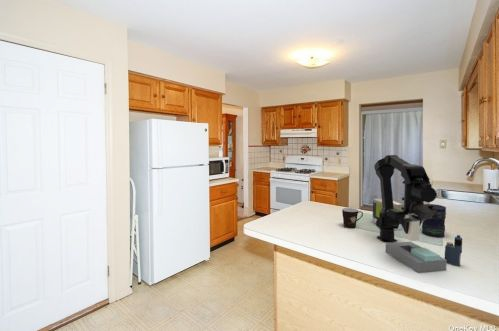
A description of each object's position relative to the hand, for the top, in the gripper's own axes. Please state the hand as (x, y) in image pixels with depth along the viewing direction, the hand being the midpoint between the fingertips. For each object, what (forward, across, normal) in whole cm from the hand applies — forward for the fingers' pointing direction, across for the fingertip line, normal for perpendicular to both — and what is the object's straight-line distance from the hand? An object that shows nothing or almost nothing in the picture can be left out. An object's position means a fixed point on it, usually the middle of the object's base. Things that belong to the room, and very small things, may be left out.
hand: (410, 233), depth 105 cm
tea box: (+11, +17, +38) cm, 43 cm away
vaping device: (+11, +13, -7) cm, 19 cm away
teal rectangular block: (+7, 0, -7) cm, 10 cm away
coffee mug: (+11, -2, +40) cm, 42 cm away
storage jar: (+11, +32, +22) cm, 40 cm away
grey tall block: (+2, 0, 0) cm, 2 cm away
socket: (+11, 0, -2) cm, 11 cm away
